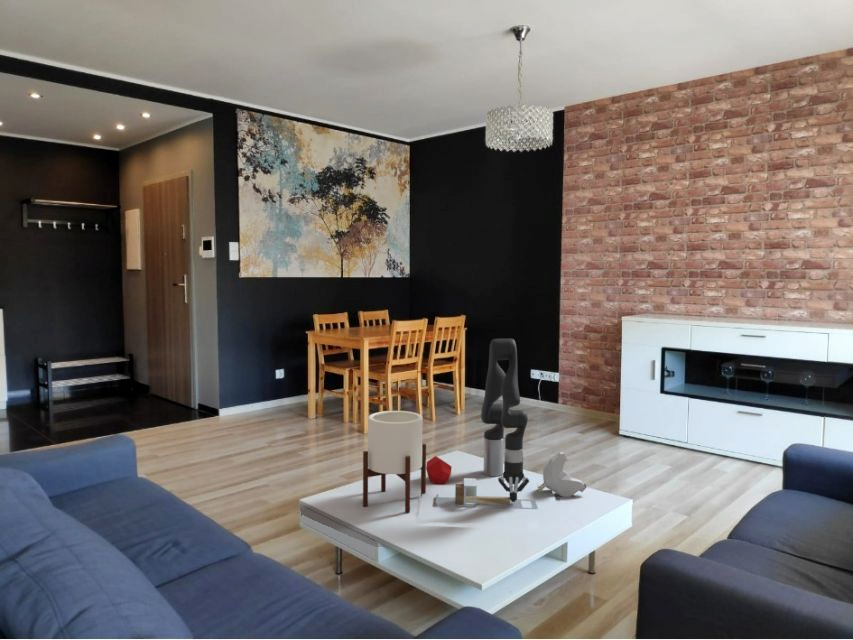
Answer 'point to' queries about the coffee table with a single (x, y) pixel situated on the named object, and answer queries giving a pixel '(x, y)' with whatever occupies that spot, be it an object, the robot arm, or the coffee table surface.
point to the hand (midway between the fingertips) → (513, 501)
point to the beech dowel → (489, 500)
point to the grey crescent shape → (560, 478)
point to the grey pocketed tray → (471, 490)
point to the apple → (438, 471)
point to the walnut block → (459, 493)
